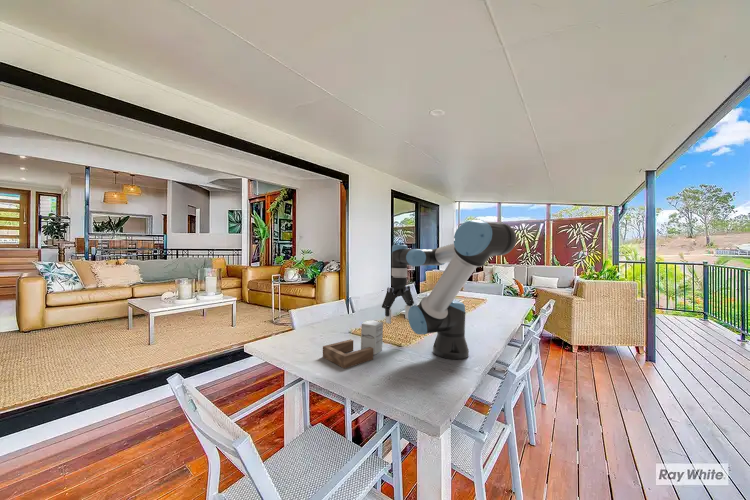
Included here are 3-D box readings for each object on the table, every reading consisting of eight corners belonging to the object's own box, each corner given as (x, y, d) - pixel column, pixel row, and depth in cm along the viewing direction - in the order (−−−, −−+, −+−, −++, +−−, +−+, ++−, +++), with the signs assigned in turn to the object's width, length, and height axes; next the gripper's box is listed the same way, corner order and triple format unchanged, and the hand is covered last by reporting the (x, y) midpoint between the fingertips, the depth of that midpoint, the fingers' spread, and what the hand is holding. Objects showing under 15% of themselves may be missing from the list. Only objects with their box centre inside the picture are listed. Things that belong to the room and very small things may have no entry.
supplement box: (360, 352, 126) (360, 323, 126) (368, 347, 133) (369, 319, 133) (375, 355, 123) (375, 325, 123) (382, 350, 130) (383, 321, 130)
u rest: (373, 359, 118) (373, 348, 118) (344, 368, 109) (344, 356, 109) (350, 349, 129) (350, 339, 129) (322, 357, 120) (322, 346, 120)
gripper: (410, 275, 151) (409, 315, 151) (374, 277, 134) (373, 323, 134) (421, 276, 145) (420, 318, 145) (386, 278, 128) (385, 326, 128)
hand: (398, 320), depth 139 cm, fingers open, 13 cm apart
